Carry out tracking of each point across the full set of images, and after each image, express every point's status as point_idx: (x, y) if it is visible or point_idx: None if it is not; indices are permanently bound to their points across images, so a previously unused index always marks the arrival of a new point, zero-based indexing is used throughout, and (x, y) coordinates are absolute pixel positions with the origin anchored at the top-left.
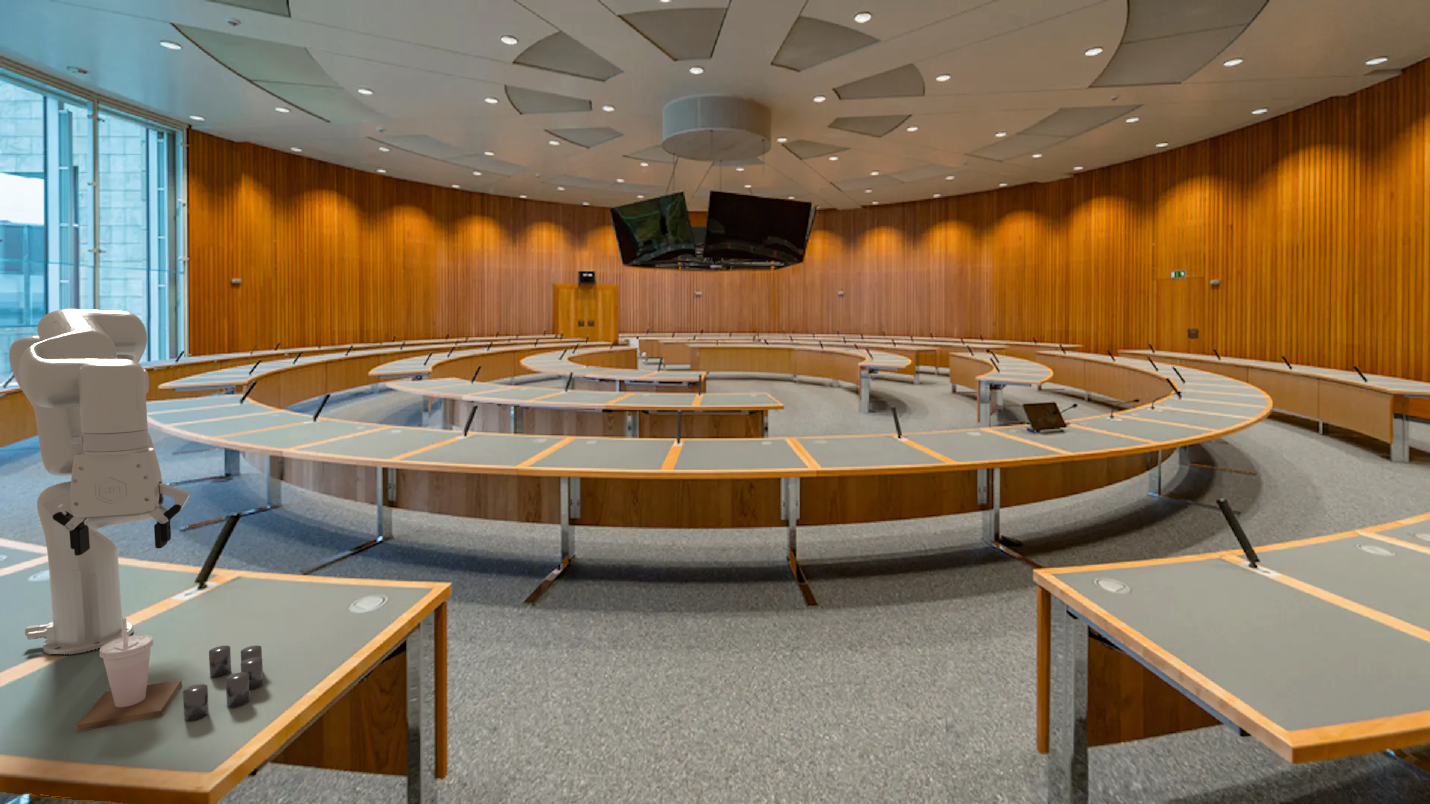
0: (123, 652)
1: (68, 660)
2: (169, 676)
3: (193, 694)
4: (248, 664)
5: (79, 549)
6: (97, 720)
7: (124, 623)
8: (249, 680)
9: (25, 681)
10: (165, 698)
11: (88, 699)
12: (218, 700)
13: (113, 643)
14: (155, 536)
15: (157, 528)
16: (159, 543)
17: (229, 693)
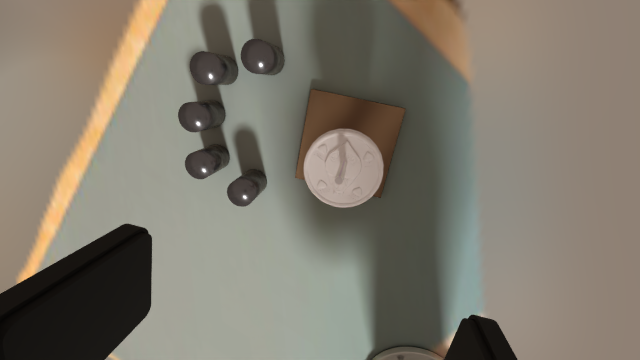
0: (344, 131)
1: (428, 335)
2: (313, 212)
3: (257, 39)
4: (194, 108)
5: (482, 341)
6: (382, 107)
7: (338, 174)
8: (206, 101)
9: (469, 303)
10: (308, 126)
11: (398, 201)
12: (250, 96)
13: (363, 187)
14: (91, 269)
15: (12, 300)
16: (112, 235)
17: (223, 58)
